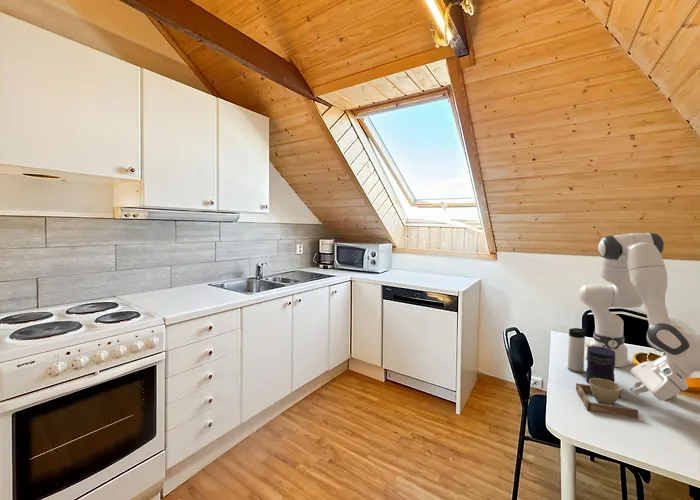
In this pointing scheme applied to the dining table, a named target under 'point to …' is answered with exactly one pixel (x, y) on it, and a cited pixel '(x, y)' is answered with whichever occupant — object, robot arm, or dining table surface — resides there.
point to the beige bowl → (605, 390)
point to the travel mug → (576, 350)
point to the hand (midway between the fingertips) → (632, 391)
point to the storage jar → (600, 363)
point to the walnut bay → (603, 407)
